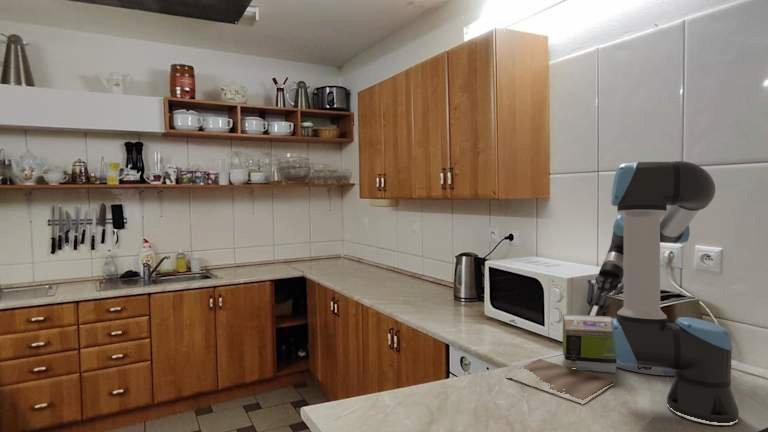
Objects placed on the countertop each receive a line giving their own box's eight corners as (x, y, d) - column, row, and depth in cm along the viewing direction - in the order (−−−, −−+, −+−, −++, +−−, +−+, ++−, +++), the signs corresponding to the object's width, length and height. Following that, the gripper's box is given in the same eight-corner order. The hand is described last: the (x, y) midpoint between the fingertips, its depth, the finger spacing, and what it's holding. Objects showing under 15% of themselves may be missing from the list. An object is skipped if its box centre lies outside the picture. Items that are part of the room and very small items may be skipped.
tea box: (610, 355, 152) (613, 315, 147) (616, 374, 143) (619, 332, 138) (561, 351, 156) (563, 312, 151) (564, 369, 147) (566, 329, 142)
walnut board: (613, 384, 135) (614, 380, 135) (582, 404, 122) (583, 400, 122) (539, 362, 153) (539, 358, 153) (506, 377, 141) (506, 373, 141)
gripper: (636, 277, 158) (614, 335, 148) (598, 272, 168) (575, 326, 158) (630, 263, 154) (607, 321, 144) (591, 259, 164) (567, 314, 154)
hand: (590, 324), depth 151 cm, fingers closed
